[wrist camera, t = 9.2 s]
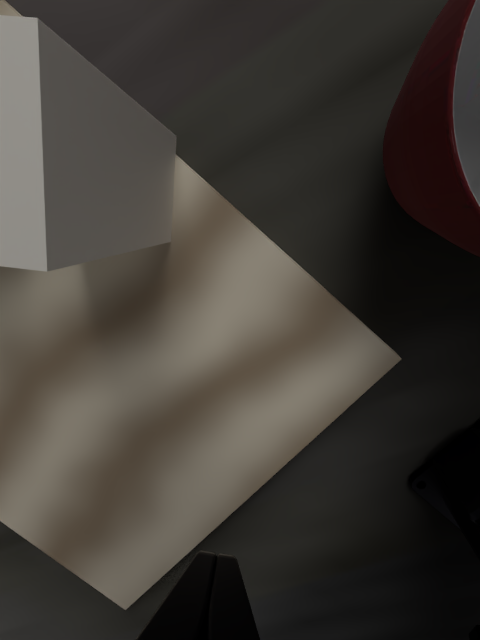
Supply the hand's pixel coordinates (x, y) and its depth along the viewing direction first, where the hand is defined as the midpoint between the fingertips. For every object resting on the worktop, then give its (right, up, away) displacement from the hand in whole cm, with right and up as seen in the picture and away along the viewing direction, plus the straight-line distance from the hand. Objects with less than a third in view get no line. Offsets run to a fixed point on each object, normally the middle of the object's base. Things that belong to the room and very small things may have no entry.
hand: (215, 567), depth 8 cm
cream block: (-5, +11, +9) cm, 15 cm away
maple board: (-8, +3, +12) cm, 15 cm away
